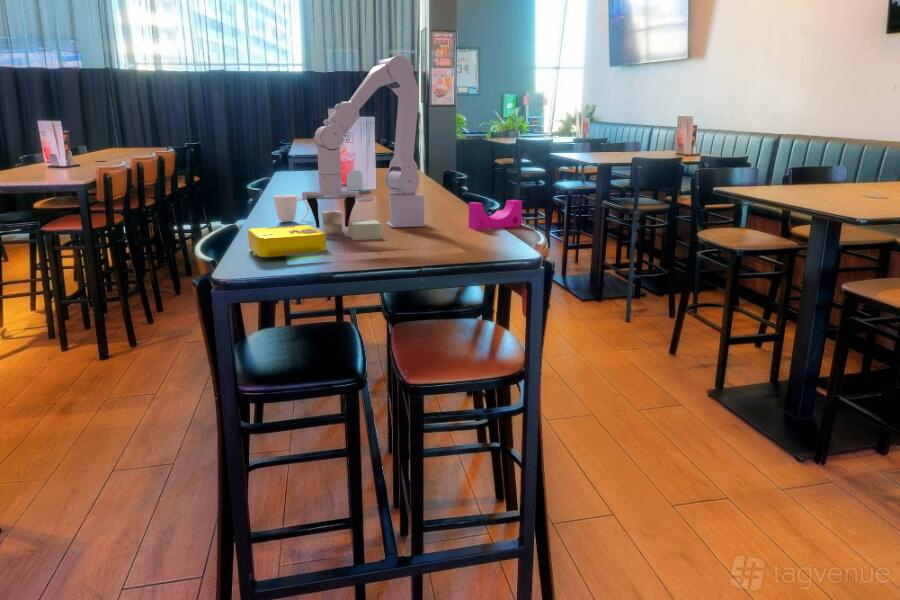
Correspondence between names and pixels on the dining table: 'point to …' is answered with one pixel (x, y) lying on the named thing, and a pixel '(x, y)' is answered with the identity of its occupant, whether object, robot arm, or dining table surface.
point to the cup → (287, 207)
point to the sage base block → (364, 229)
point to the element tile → (286, 240)
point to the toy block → (495, 216)
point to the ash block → (332, 222)
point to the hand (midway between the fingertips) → (332, 226)
